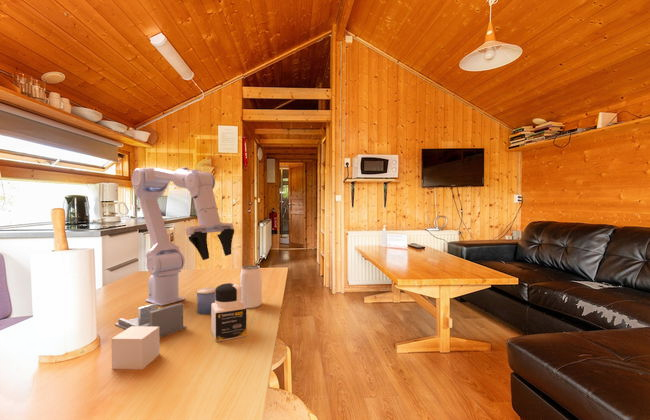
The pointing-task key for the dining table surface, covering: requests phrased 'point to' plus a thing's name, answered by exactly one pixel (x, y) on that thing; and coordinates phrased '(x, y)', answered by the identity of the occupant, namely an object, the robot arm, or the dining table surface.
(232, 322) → the medicine bottle
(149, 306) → the plate
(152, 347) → the pale pink cube
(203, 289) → the jar
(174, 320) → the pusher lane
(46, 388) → the dining table surface
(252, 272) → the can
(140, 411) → the dining table surface
